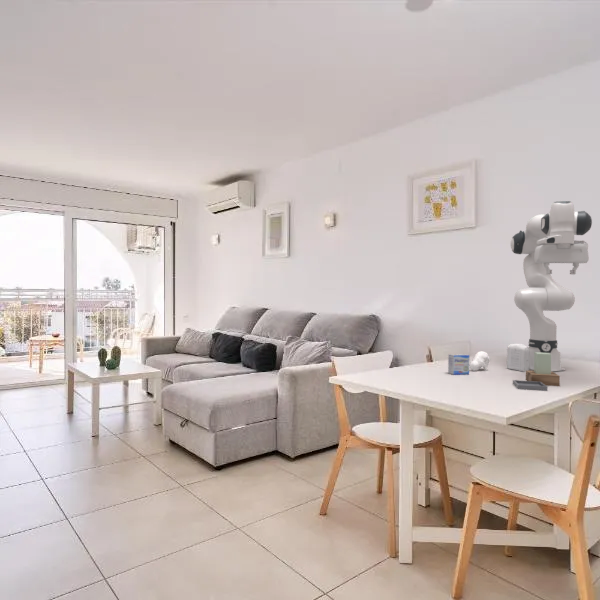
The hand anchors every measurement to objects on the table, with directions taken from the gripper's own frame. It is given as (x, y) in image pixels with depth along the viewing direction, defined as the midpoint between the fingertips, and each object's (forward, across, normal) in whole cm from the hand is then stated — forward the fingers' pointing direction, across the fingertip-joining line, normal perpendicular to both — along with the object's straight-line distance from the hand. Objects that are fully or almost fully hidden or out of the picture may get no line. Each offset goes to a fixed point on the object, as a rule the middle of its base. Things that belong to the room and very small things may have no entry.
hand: (560, 274), depth 186 cm
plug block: (+40, +8, +4) cm, 41 cm away
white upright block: (+44, +5, -28) cm, 52 cm away
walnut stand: (+44, +8, +4) cm, 45 cm away
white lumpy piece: (+44, +24, -25) cm, 56 cm away
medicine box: (+44, +36, -14) cm, 59 cm away
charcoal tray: (+44, +17, +13) cm, 49 cm away
